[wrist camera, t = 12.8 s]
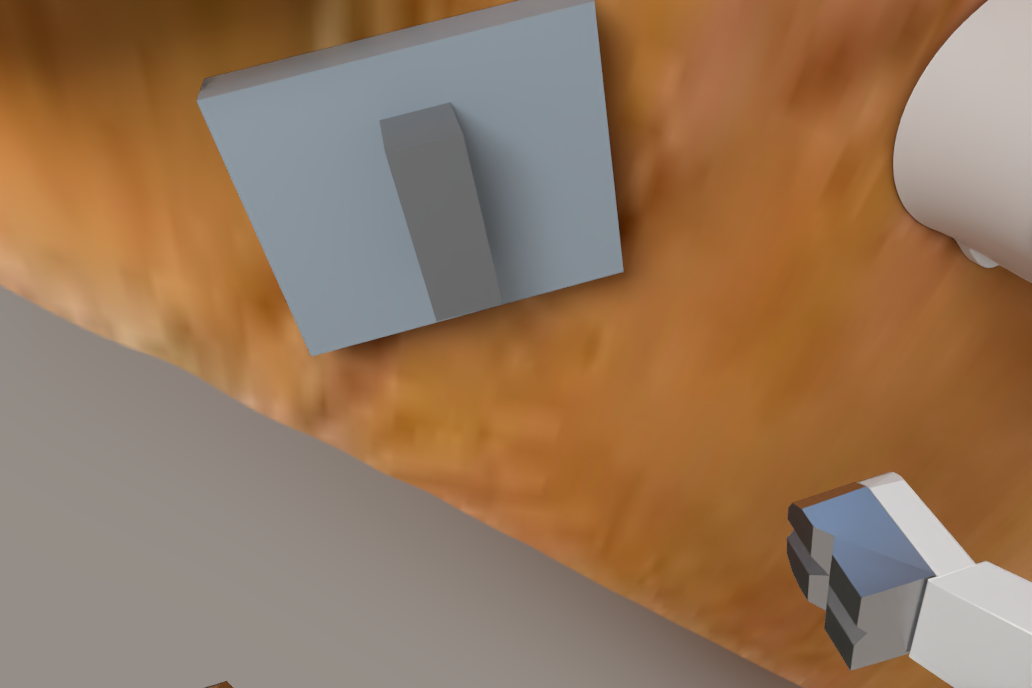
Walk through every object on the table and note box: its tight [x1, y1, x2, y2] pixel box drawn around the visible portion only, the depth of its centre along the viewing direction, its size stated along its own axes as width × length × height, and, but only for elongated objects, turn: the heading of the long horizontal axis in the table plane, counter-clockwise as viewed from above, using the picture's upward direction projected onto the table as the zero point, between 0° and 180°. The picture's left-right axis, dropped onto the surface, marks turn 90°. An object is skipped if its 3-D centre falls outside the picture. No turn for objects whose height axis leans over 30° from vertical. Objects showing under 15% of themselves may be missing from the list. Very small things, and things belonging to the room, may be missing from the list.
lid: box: [197, 0, 624, 356], centre depth 34 cm, size 16×13×6 cm
